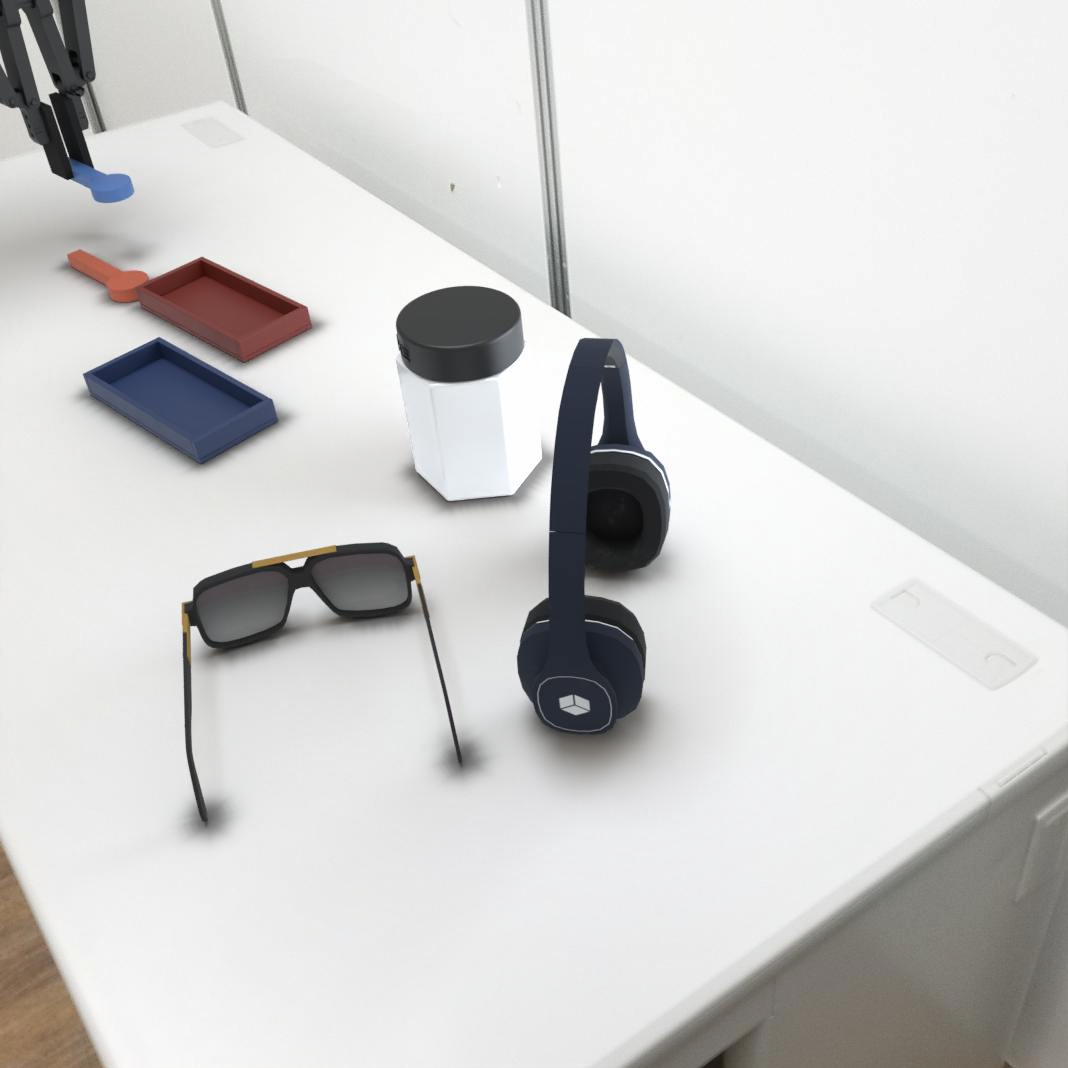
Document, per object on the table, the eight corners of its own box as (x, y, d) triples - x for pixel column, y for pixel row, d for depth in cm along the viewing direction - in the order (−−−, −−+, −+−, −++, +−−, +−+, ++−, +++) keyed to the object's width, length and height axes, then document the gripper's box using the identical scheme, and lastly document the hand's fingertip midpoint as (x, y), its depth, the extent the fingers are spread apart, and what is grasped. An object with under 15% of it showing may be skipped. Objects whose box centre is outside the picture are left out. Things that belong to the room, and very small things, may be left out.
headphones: (572, 522, 82) (551, 270, 70) (675, 527, 82) (673, 273, 69) (515, 750, 68) (477, 483, 56) (640, 760, 67) (629, 491, 55)
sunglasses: (203, 826, 65) (177, 764, 62) (196, 634, 76) (173, 573, 73) (463, 765, 67) (452, 702, 64) (420, 587, 78) (408, 526, 75)
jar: (459, 420, 92) (437, 273, 84) (557, 443, 89) (545, 292, 81) (396, 489, 86) (366, 338, 78) (500, 515, 83) (480, 361, 75)
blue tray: (90, 394, 97) (82, 373, 96) (165, 357, 101) (159, 336, 100) (201, 464, 89) (193, 442, 88) (278, 420, 93) (272, 399, 92)
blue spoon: (44, 176, 114) (39, 163, 114) (78, 163, 116) (74, 150, 116) (107, 207, 109) (102, 194, 108) (142, 192, 111) (138, 179, 110)
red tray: (140, 307, 107) (133, 287, 106) (207, 275, 111) (202, 256, 110) (244, 362, 100) (238, 342, 98) (312, 327, 103) (307, 306, 102)
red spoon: (60, 271, 113) (55, 259, 112) (94, 256, 115) (90, 244, 114) (124, 306, 108) (120, 294, 107) (160, 290, 109) (156, 277, 109)
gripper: (-89, -90, 92) (22, 210, 108) (83, -130, 100) (163, 155, 116) (-134, -105, 96) (-20, 187, 112) (35, -142, 104) (119, 136, 120)
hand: (73, 170), depth 114 cm, fingers closed on blue spoon
